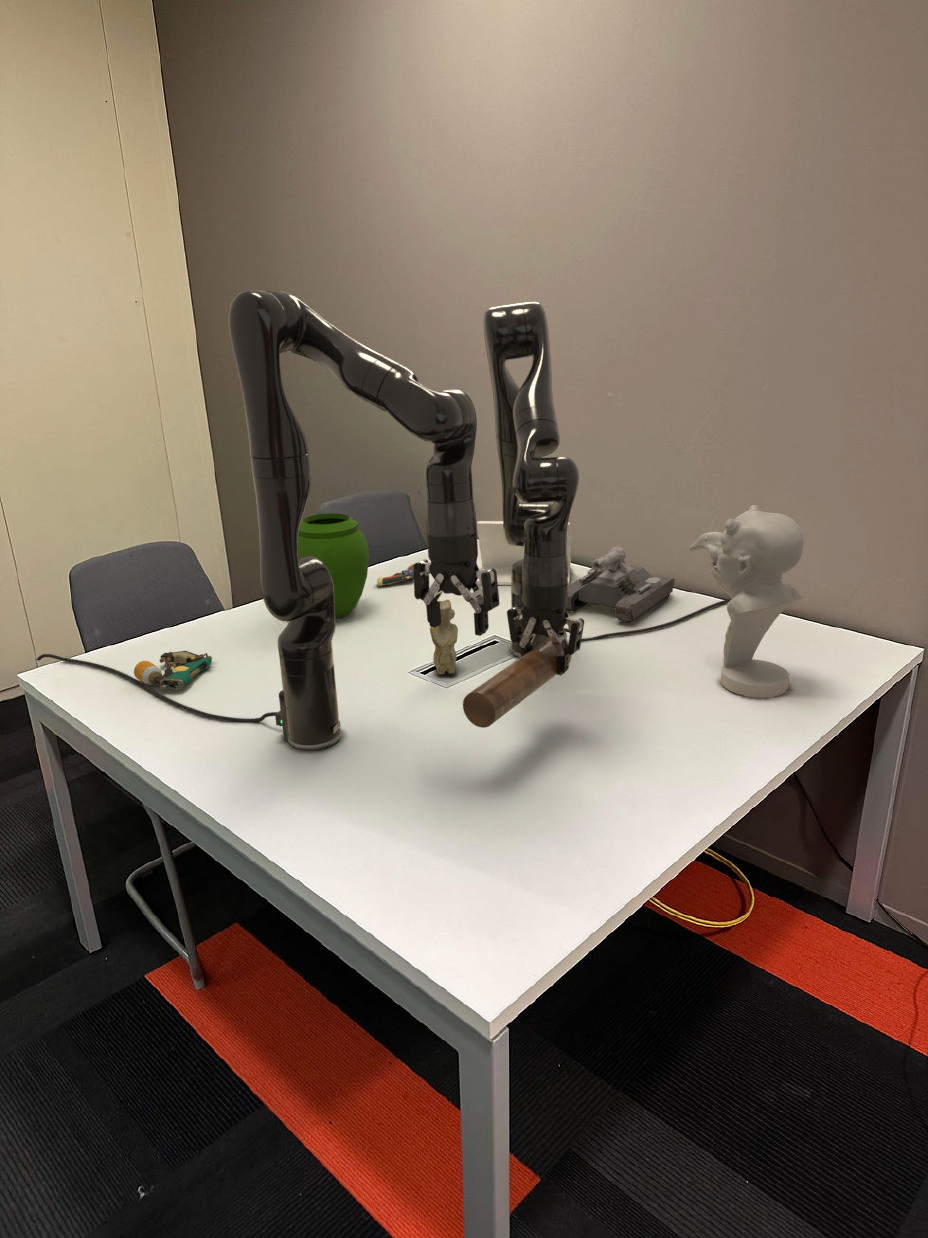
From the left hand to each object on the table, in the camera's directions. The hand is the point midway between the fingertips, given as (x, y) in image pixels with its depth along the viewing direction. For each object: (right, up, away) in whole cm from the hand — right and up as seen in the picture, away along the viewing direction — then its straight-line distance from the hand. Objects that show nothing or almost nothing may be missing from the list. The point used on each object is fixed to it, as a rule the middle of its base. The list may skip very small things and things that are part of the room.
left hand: (457, 629), depth 133 cm
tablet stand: (+18, +14, +106) cm, 109 cm away
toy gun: (-17, +13, +107) cm, 110 cm away
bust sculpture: (+55, -11, +38) cm, 68 cm away
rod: (+10, -11, +9) cm, 18 cm away
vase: (-32, +3, +81) cm, 87 cm away
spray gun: (-60, -11, +48) cm, 77 cm away
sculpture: (-3, -9, +47) cm, 48 cm away
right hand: (+15, -7, +15) cm, 22 cm away
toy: (+39, +5, +81) cm, 91 cm away
